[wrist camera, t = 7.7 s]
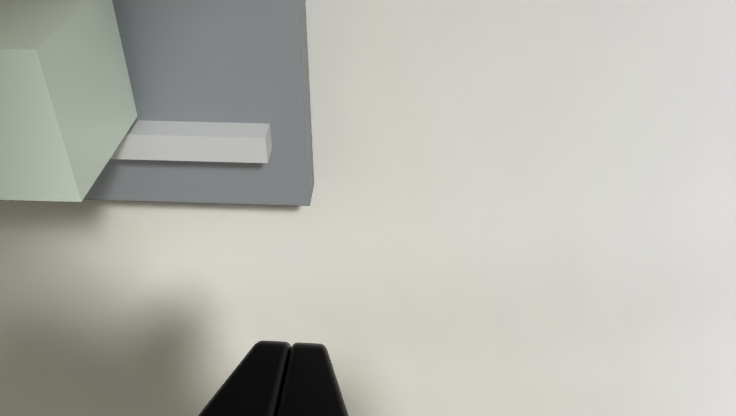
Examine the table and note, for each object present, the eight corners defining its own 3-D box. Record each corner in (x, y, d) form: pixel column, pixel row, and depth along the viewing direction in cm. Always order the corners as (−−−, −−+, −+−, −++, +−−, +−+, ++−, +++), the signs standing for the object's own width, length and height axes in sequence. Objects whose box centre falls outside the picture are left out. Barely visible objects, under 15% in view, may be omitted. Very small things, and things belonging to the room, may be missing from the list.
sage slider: (108, -17, 16) (35, 49, 13) (137, 116, 18) (81, 202, 15) (-15, -20, 16) (-118, 46, 13) (28, 113, 18) (-51, 198, 15)
